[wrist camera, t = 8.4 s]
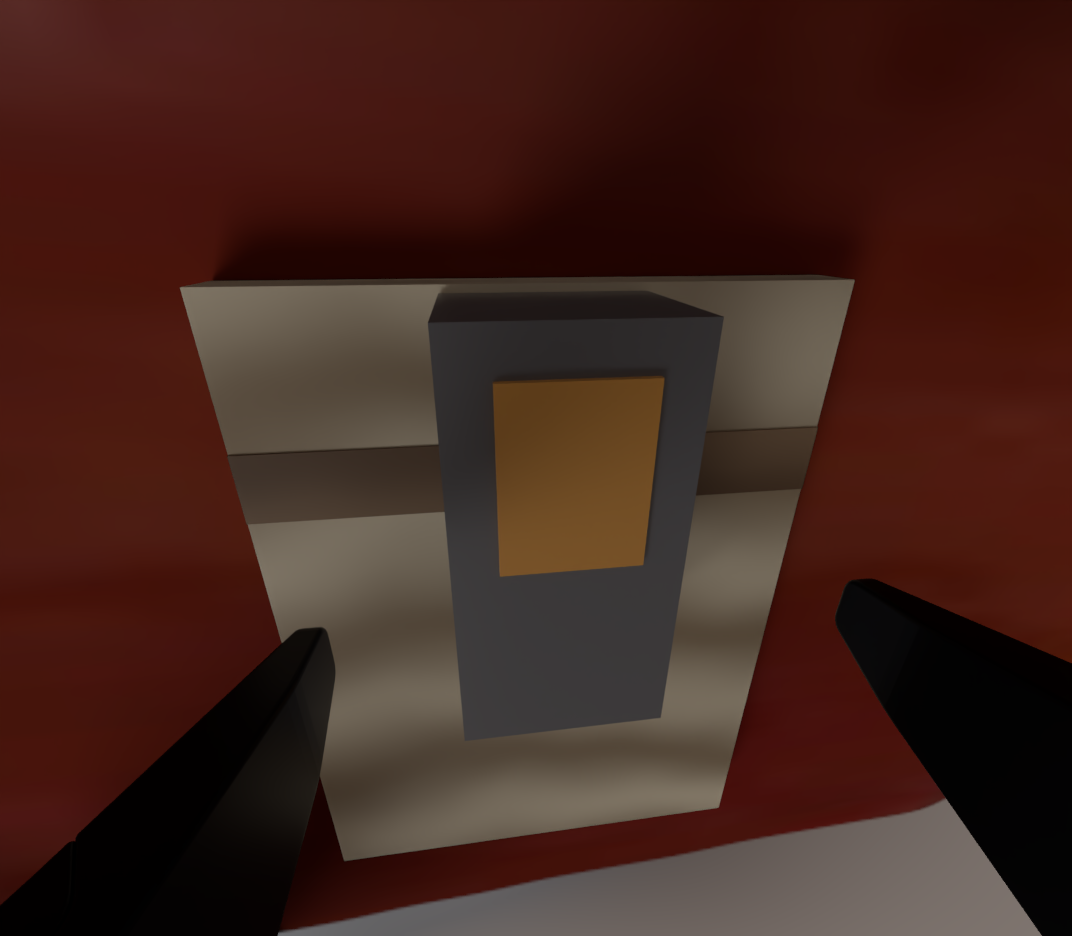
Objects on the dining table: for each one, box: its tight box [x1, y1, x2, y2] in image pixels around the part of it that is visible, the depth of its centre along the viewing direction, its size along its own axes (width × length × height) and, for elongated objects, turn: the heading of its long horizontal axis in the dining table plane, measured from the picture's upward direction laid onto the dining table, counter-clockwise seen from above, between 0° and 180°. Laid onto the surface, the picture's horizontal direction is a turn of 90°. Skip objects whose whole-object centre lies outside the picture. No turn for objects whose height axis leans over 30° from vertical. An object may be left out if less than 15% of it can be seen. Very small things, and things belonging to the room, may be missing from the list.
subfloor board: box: [180, 275, 855, 861], centre depth 17 cm, size 22×16×2 cm
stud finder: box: [428, 291, 724, 741], centre depth 12 cm, size 10×5×4 cm, turn 0°
